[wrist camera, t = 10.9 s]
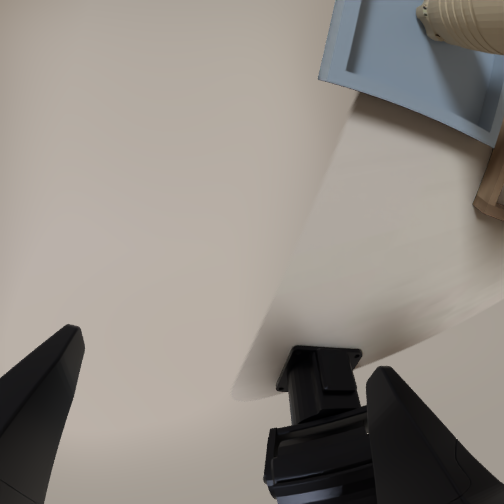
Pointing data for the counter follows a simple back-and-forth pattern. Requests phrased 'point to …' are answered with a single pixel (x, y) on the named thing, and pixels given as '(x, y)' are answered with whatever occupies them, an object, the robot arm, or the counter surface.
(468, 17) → the handle
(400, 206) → the counter surface
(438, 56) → the tray
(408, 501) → the robot arm
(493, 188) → the brown square frame
